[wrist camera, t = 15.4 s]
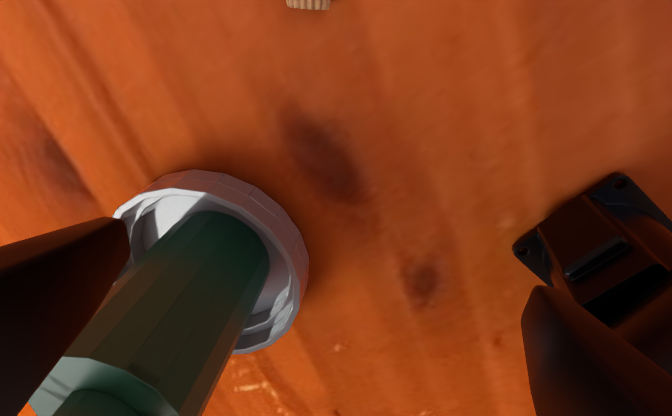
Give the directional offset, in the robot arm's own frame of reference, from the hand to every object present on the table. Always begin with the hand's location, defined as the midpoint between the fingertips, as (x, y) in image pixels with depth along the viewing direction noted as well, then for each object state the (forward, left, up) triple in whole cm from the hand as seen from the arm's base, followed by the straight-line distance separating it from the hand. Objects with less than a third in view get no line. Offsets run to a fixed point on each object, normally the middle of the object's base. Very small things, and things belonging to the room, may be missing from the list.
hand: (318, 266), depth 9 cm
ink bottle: (+1, +13, -12) cm, 18 cm away
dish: (+1, +13, -13) cm, 18 cm away
